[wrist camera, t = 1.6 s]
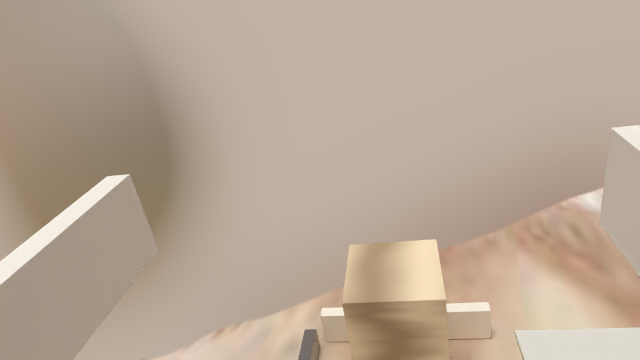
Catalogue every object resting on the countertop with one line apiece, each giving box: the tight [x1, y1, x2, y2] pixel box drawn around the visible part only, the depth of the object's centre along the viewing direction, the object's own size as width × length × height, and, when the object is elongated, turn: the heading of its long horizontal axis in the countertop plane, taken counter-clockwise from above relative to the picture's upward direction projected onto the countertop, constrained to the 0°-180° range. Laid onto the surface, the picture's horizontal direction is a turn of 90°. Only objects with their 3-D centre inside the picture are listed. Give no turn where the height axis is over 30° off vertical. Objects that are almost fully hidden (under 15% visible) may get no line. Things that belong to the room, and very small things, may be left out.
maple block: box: [342, 239, 450, 360], centre depth 31 cm, size 6×6×12 cm
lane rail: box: [321, 302, 491, 342], centre depth 39 cm, size 14×1×3 cm, turn 82°
